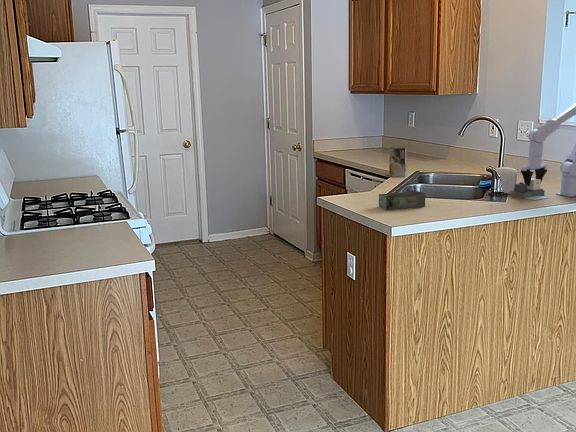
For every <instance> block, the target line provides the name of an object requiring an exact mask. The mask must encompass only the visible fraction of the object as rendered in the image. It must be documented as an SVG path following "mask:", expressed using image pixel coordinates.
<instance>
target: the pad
mask: <svg viewBox="0 0 576 432" xmlns="http://www.w3.org/2000/svg"><path fill="white" fill-rule="evenodd" d="M525 199H527V200H531V201H539V200H544V199H545V200H546V199H549V197H548V196H545V195H544V196H532V197H526V198H525ZM525 199H524V200H525Z"/></svg>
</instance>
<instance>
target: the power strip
mask: <svg viewBox="0 0 576 432" xmlns="http://www.w3.org/2000/svg"><path fill="white" fill-rule="evenodd" d="M545 191H546V190H545V189H544V188H541V187H540V189H538V190H530V189H528V184H525V183H524V182H522V181H520V182H518V183H516V184H515V187H514V191H511V194H510V197H515V198H518V199H523V200H525V198H526V197H532V196H544V197H545Z"/></svg>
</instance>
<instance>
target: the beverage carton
mask: <svg viewBox="0 0 576 432" xmlns="http://www.w3.org/2000/svg"><path fill="white" fill-rule="evenodd" d="M417 207H418V208H425V207H426V193H425V192H422V191H418V190H411V191H410V190H409V191H404V192H391V193H378V208H380V209H382V210H384V211H394V210H395V211H396V209H398V210H405V209H406V210H407V208H408V209H418V208H417Z"/></svg>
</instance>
